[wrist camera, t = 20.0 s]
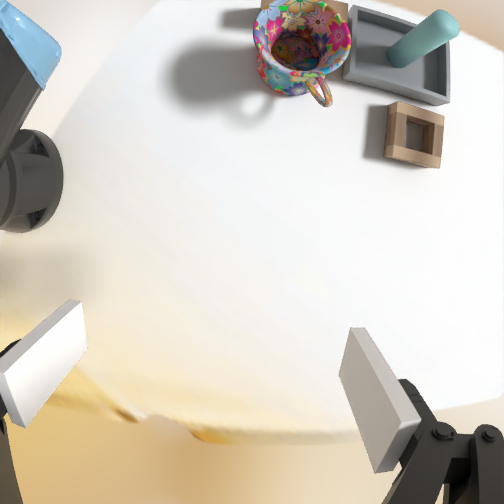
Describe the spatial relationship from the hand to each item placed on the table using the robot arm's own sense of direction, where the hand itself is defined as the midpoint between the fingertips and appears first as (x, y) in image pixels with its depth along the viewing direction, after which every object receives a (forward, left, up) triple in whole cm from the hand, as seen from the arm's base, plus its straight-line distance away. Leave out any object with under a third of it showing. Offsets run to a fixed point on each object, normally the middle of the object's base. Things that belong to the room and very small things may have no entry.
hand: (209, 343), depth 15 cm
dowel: (+18, +26, -25) cm, 40 cm away
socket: (+20, +16, -26) cm, 37 cm away
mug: (+5, +21, -27) cm, 34 cm away
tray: (+17, +26, -26) cm, 41 cm away
